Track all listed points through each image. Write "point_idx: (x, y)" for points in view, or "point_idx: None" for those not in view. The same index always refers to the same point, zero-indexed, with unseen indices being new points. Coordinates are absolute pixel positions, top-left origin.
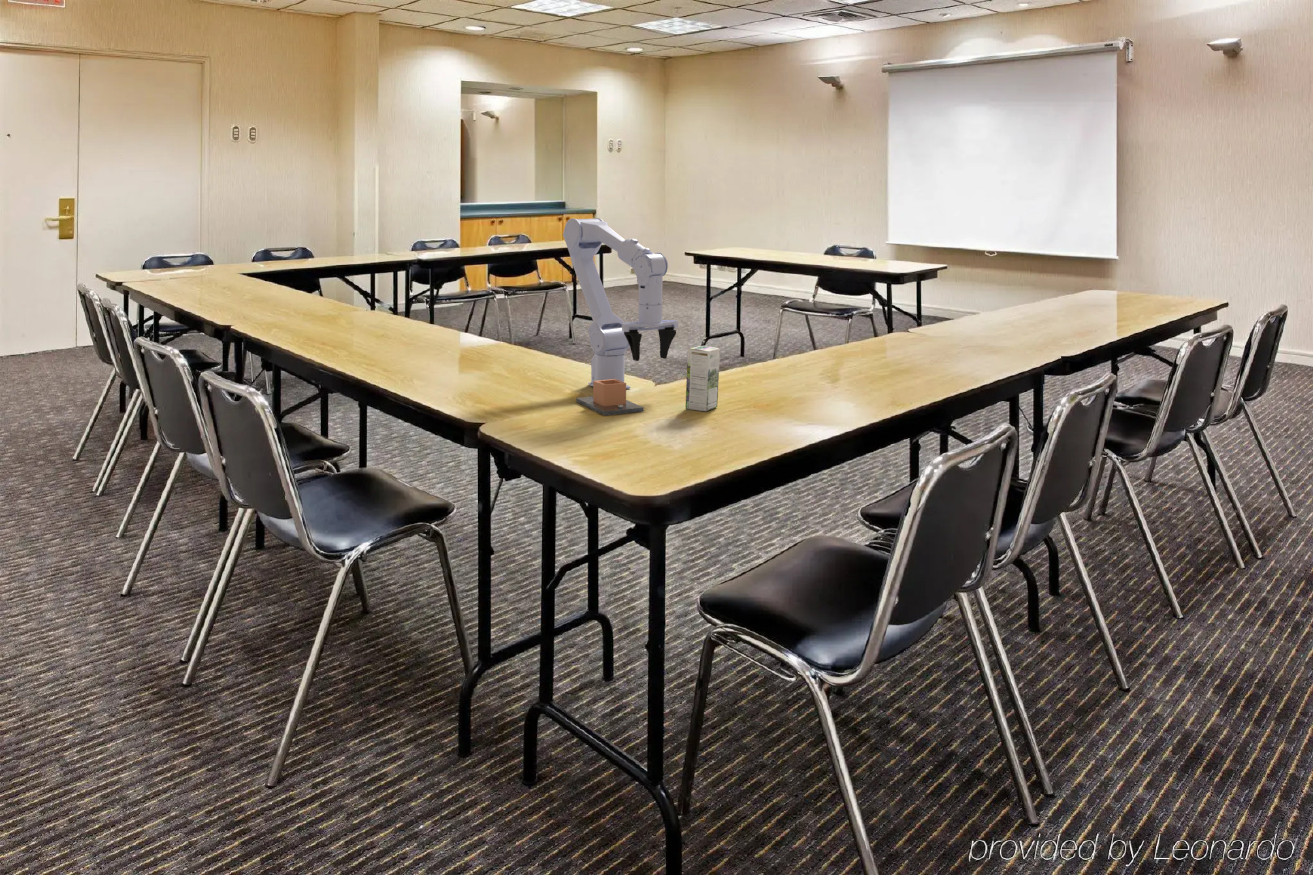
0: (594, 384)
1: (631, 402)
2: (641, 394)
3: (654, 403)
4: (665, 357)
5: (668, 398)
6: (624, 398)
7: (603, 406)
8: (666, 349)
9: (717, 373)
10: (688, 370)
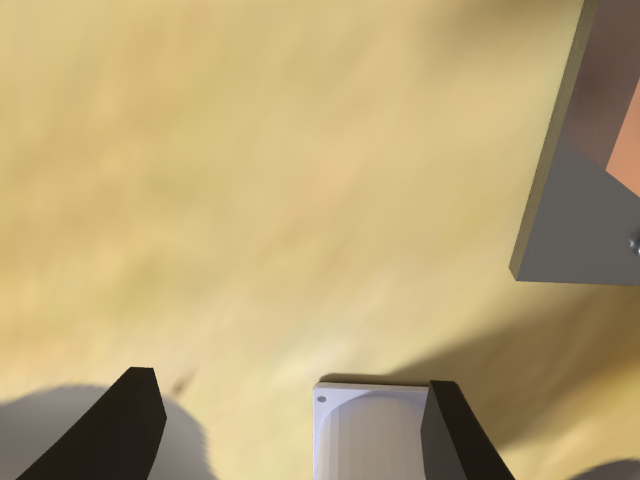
0: None
1: (597, 27)
2: (325, 280)
3: (384, 45)
4: (136, 374)
5: (232, 137)
6: None
7: None
8: (89, 440)
9: None
10: None
